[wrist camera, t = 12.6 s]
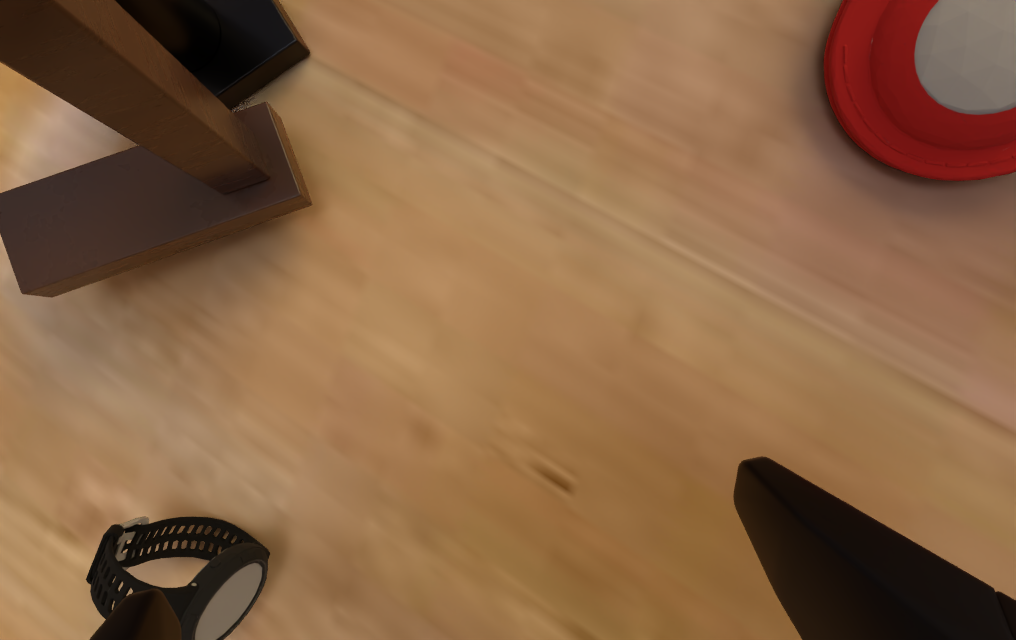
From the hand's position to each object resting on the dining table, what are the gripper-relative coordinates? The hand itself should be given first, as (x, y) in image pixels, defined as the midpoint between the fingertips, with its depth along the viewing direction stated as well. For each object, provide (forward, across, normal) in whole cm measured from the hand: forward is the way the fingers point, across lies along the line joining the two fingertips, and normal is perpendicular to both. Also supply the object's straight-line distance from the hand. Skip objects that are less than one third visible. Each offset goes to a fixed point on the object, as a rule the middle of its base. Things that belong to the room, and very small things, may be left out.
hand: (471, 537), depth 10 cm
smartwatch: (+11, +8, +10) cm, 18 cm away
